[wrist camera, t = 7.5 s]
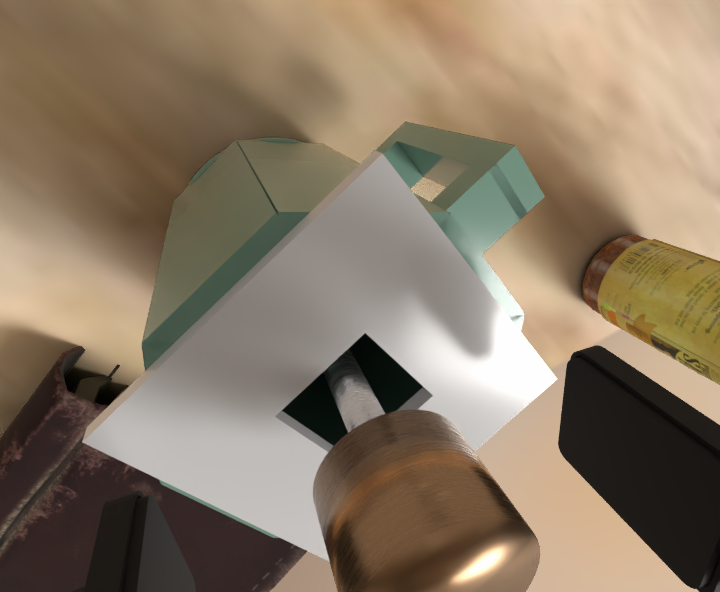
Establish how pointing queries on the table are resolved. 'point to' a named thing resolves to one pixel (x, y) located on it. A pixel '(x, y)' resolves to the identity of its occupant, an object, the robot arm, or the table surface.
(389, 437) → the plunger
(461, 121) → the table surface
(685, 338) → the sauce bottle
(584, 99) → the table surface
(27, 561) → the diary
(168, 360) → the press carafe
